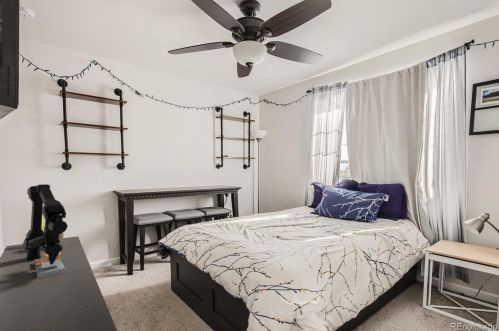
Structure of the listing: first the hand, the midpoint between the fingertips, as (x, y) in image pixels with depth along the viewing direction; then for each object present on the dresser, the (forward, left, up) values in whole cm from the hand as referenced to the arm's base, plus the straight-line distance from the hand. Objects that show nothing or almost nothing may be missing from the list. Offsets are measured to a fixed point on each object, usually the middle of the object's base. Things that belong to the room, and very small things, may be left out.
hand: (50, 262), depth 120 cm
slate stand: (0, 0, -4) cm, 4 cm away
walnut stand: (-13, 0, -4) cm, 14 cm away
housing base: (0, 0, -1) cm, 1 cm away
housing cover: (0, 0, +2) cm, 2 cm away
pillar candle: (-44, +5, -5) cm, 44 cm away
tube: (-54, -1, -5) cm, 54 cm away
